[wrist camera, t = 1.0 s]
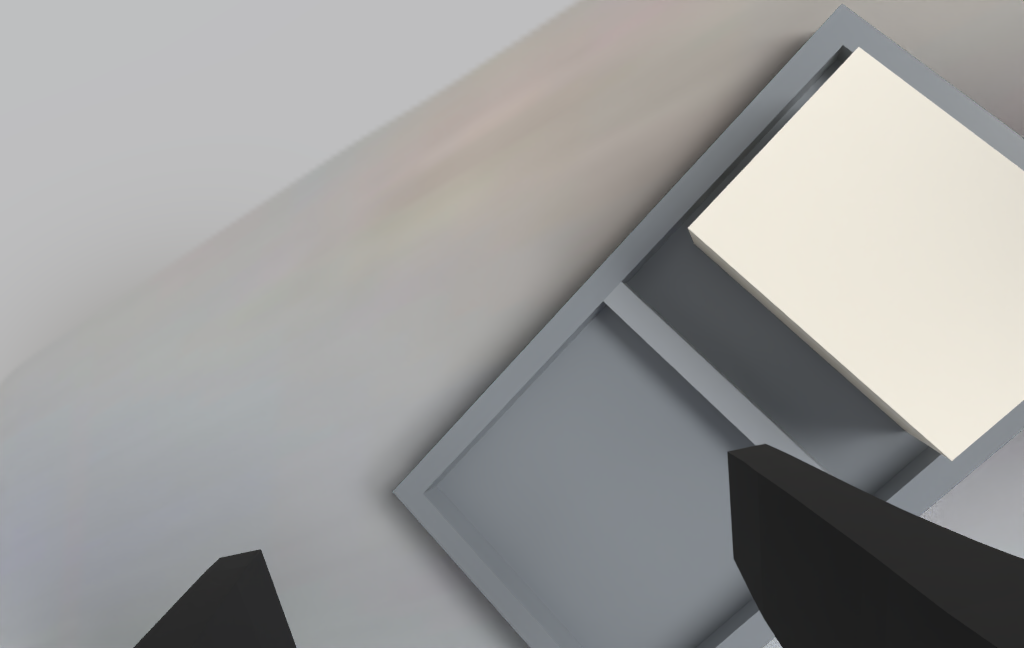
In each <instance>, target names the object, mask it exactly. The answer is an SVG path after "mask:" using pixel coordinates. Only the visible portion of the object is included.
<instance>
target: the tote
mask: <svg viewBox="0 0 1024 648" xmlns="http://www.w3.org/2000/svg"><path fill="white" fill-rule="evenodd" d="M858 47H860V48H861V49H863V50H864V51H865V52H867V53H868V54H869V55H871V56H872V57H873V58H875V59H876V60H877V61H878V62H880V63H881V64H882V65H884V66H885V67H886V68H888V69H889V70H890V71H892V72H893V73H894V74H896V75H897V76H898V77H900V78H901V79H902V80H904V81H905V82H906V83H908V84H909V85H910V86H912V87H913V88H914V89H916V90H917V91H918V92H920V93H921V94H922V95H924V96H925V97H926V98H928V99H929V100H930V101H932V102H933V103H934V104H936V105H937V106H938V107H940V108H941V109H942V110H944V111H945V112H946V113H948V114H949V115H950V116H952V117H953V118H954V119H956V120H957V121H958V122H960V123H961V124H962V125H964V126H965V127H966V128H967V129H969V130H970V131H971V132H973V133H974V134H975V135H977V136H978V137H979V138H981V139H982V140H983V141H985V142H986V143H987V144H989V145H990V146H991V147H993V148H994V149H995V150H997V151H998V152H999V153H1001V154H1002V155H1003V156H1005V157H1006V158H1007V159H1009V160H1010V161H1011V162H1013V163H1014V164H1015V165H1017V166H1018V167H1019V168H1021V169H1022V170H1023V171H1024V138H1023V137H1021V136H1020V135H1019V134H1017V133H1016V132H1015V131H1013V130H1012V129H1011V128H1009V127H1008V126H1007V125H1005V124H1004V123H1003V122H1001V121H1000V120H999V119H997V118H996V117H994V116H993V115H992V114H990V113H989V112H988V111H986V110H985V109H984V108H982V107H981V106H980V105H978V104H977V103H976V102H974V101H973V100H972V99H970V98H969V97H967V96H966V95H965V94H963V93H962V92H961V91H959V90H958V89H957V88H955V87H954V86H953V85H951V84H950V83H949V82H947V81H946V80H945V79H943V78H942V77H940V76H939V75H938V74H936V73H935V72H934V71H932V70H931V69H930V68H928V67H927V66H926V65H924V64H923V63H922V62H920V61H919V60H918V59H916V58H915V57H913V56H912V55H911V54H909V53H908V52H907V51H905V50H904V49H903V48H901V47H900V46H899V45H897V44H896V43H895V42H893V41H892V40H891V39H889V38H888V37H886V36H885V35H884V34H882V33H881V32H880V31H878V30H877V29H876V28H874V27H873V26H872V25H870V24H869V23H868V22H866V21H865V20H864V19H862V18H861V17H859V16H858V15H857V14H855V13H854V12H853V11H851V10H850V9H849V8H847V7H846V6H845V5H843V4H841V5H840V6H839V7H838V8H837V9H836V11H835V12H834V13H833V14H832V15H831V16H830V17H829V18H828V19H827V20H826V21H825V22H824V24H823V25H822V26H821V27H820V28H819V29H818V30H817V31H816V32H815V33H814V34H813V36H812V37H811V38H810V39H809V40H808V41H807V42H806V43H805V44H804V45H803V46H802V47H801V49H800V50H799V51H798V52H797V53H796V54H795V55H794V56H793V57H792V58H791V59H790V60H789V62H788V63H787V64H786V65H785V66H784V67H783V68H782V69H781V70H780V71H779V72H778V74H777V75H776V76H775V77H774V78H773V79H772V80H771V81H770V82H769V83H768V84H767V85H766V87H765V88H764V89H763V90H762V91H761V92H760V93H759V94H758V95H757V96H756V97H755V99H754V100H753V101H752V102H751V103H750V104H749V105H748V106H747V107H746V108H745V109H744V110H743V112H742V113H741V114H740V115H739V116H738V117H737V118H736V119H735V120H734V121H733V122H732V123H731V125H730V126H729V127H728V128H727V129H726V130H725V131H724V132H723V133H722V134H721V135H720V137H719V138H718V139H717V140H716V141H715V142H714V143H713V144H712V145H711V146H710V147H709V148H708V150H707V151H706V152H705V153H704V154H703V155H702V156H701V157H700V158H699V159H698V160H697V162H696V163H695V164H694V165H693V166H692V167H691V168H690V169H689V170H688V171H687V172H686V173H685V175H684V176H683V177H682V178H681V179H680V180H679V181H678V182H677V183H676V184H675V185H674V186H673V188H672V189H671V190H670V191H669V192H668V193H667V194H666V195H665V196H664V197H663V198H662V200H661V201H660V202H659V203H658V204H657V205H656V206H655V207H654V208H653V209H652V210H651V211H650V213H649V214H648V215H647V216H646V217H645V218H644V219H643V220H642V221H641V222H640V223H639V225H638V226H637V227H636V228H635V229H634V230H633V231H632V232H631V233H630V234H629V235H628V236H627V238H626V239H625V240H624V241H623V242H622V243H621V244H620V245H619V246H618V247H617V248H616V250H615V251H614V252H613V253H612V254H611V255H610V256H609V257H608V258H607V259H606V260H605V261H604V263H603V264H602V265H601V266H600V267H599V268H598V269H597V270H596V271H595V272H594V273H593V274H592V276H591V277H590V278H589V279H588V280H587V281H586V282H585V283H584V284H583V285H582V286H581V288H580V289H579V290H578V291H577V292H576V293H575V294H574V295H573V296H572V297H571V298H570V299H569V301H568V302H567V303H566V304H565V305H564V306H563V307H562V308H561V309H560V310H559V311H558V313H557V314H556V315H555V316H554V317H553V318H552V319H551V320H550V321H549V322H548V323H547V324H546V326H545V327H544V328H543V329H542V330H541V331H540V332H539V333H538V334H537V335H536V336H535V337H534V339H533V340H532V341H531V342H530V343H529V344H528V345H527V346H526V347H525V348H524V349H523V351H522V352H521V353H520V354H519V355H518V356H517V357H516V358H515V359H514V360H513V361H512V362H511V364H510V365H509V366H508V367H507V368H506V369H505V370H504V371H503V372H502V373H501V374H500V376H499V377H498V378H497V379H496V380H495V381H494V382H493V383H492V384H491V385H490V386H489V387H488V389H487V390H486V391H485V392H484V393H483V394H482V395H481V396H480V397H479V398H478V399H477V400H476V402H475V403H474V404H473V405H472V406H471V407H470V408H469V409H468V410H467V411H466V412H465V414H464V415H463V416H462V417H461V418H460V419H459V420H458V421H457V422H456V423H455V424H454V425H453V427H452V428H451V429H450V430H449V431H448V432H447V433H446V434H445V435H444V436H443V437H442V439H441V440H440V441H439V442H438V443H437V444H436V445H435V446H434V447H433V448H432V449H431V450H430V452H429V453H428V454H427V455H426V456H425V457H424V458H423V459H422V460H421V461H420V462H419V463H418V465H417V466H416V467H415V468H414V469H413V470H412V471H411V472H410V473H409V474H408V475H407V477H406V478H405V479H404V480H403V481H402V482H401V483H400V484H399V485H398V486H397V487H396V488H395V490H394V491H393V493H394V494H395V495H396V496H397V498H398V499H399V500H400V501H401V502H402V503H403V504H404V505H405V507H406V508H407V509H408V510H409V511H410V512H411V513H412V514H413V516H414V517H415V518H416V519H417V520H418V521H419V522H420V524H421V525H422V526H423V527H424V528H425V529H426V530H427V531H428V533H429V534H430V535H431V536H432V537H433V538H434V539H435V541H436V542H437V543H438V544H439V545H440V546H441V547H442V548H443V550H444V551H445V552H446V553H447V554H448V555H449V556H450V557H451V559H452V560H453V561H454V562H455V563H456V564H457V565H458V567H459V568H460V569H461V570H462V571H463V572H464V573H465V574H466V576H467V577H468V578H469V579H470V580H471V581H472V582H473V584H474V585H475V586H476V587H477V588H478V589H479V590H480V591H481V593H482V594H483V595H484V596H485V597H486V598H487V599H488V601H489V602H490V603H491V604H492V605H493V606H494V607H495V608H496V610H497V611H498V612H499V613H500V614H501V615H502V616H503V617H504V619H505V620H506V621H507V622H508V623H509V624H510V625H511V627H512V628H513V629H514V630H515V631H516V632H517V633H518V634H519V636H520V637H521V638H522V639H523V640H524V641H525V642H526V644H527V645H528V646H529V647H530V648H763V647H764V646H765V645H766V644H767V643H769V642H770V641H771V640H772V639H773V638H774V637H775V635H774V634H773V632H772V631H771V629H770V627H769V626H768V624H767V623H766V621H765V620H764V618H763V616H762V614H761V612H760V611H759V609H758V607H757V605H756V603H755V601H754V599H753V597H752V595H751V593H750V591H749V589H748V587H747V585H746V583H745V581H744V579H743V577H742V575H741V573H740V571H739V569H738V567H737V565H736V563H735V561H734V559H733V542H732V525H731V507H730V490H729V472H728V455H727V452H728V451H732V450H737V449H742V448H747V447H751V446H756V445H761V444H767V445H770V446H772V447H774V448H777V449H779V450H781V451H783V452H785V453H787V454H790V455H792V456H794V457H796V458H798V459H800V460H802V461H804V462H806V463H808V464H810V465H812V466H814V467H816V468H818V469H820V470H822V471H824V472H826V473H828V474H830V475H832V476H834V477H836V478H838V479H840V480H842V481H844V482H846V483H848V484H850V485H852V486H854V487H856V488H858V489H860V490H863V491H865V492H867V493H869V494H871V495H873V496H875V497H877V498H879V499H881V500H883V501H886V502H888V503H890V504H892V505H894V506H896V507H898V508H901V509H903V510H905V511H907V512H910V513H912V514H914V515H916V516H918V517H919V516H920V515H921V514H922V513H924V512H925V511H926V510H927V509H928V508H930V507H931V506H932V505H933V504H934V503H936V502H937V501H938V500H939V499H940V498H942V497H943V496H944V495H945V494H946V493H947V492H949V491H950V490H951V489H952V488H953V487H955V486H956V485H957V484H958V483H959V482H961V481H962V480H963V479H964V478H965V477H967V476H968V475H969V474H970V473H971V472H973V471H974V470H975V469H976V468H977V467H979V466H980V465H981V464H982V463H983V462H984V461H986V460H987V459H988V458H989V457H990V456H992V455H993V454H994V453H995V452H996V451H998V450H999V449H1000V448H1001V447H1002V446H1004V445H1005V444H1006V443H1007V442H1008V441H1010V440H1011V439H1012V438H1013V437H1014V436H1016V435H1017V434H1018V433H1019V432H1020V431H1021V430H1023V429H1024V400H1023V401H1022V402H1021V403H1020V404H1018V405H1017V406H1016V407H1015V408H1014V409H1013V410H1011V411H1010V412H1009V413H1008V414H1007V415H1005V416H1004V417H1003V418H1002V419H1001V420H1000V421H998V422H997V423H996V424H995V425H994V426H993V427H991V428H990V429H989V430H988V431H987V432H985V433H984V434H983V435H982V436H981V437H980V438H978V439H977V440H976V441H975V442H974V443H973V444H971V445H970V446H969V447H968V448H967V449H965V450H964V451H963V452H962V453H961V454H960V455H958V456H957V457H956V458H955V459H954V460H953V461H951V460H950V459H948V458H946V457H945V456H943V455H942V454H940V453H939V452H937V451H936V450H934V449H932V448H931V447H929V446H928V445H926V444H925V443H923V442H922V441H920V440H918V439H917V438H915V437H914V436H912V435H911V434H909V433H908V432H906V431H905V430H904V429H903V428H901V427H900V426H899V425H898V424H897V423H896V422H895V421H894V420H892V419H891V418H890V417H889V416H888V415H887V414H886V413H884V412H883V411H882V410H881V409H880V408H879V407H878V406H877V405H875V404H874V403H873V402H872V401H871V400H870V399H869V398H868V397H866V396H865V395H864V394H863V393H862V392H861V391H860V390H859V389H857V388H856V387H855V386H854V385H853V384H852V383H851V382H850V381H848V380H847V379H846V378H845V377H844V376H843V375H842V374H841V373H839V372H838V371H837V370H836V369H835V368H834V367H833V366H831V365H830V364H829V363H828V362H827V361H826V360H825V359H824V358H822V357H821V356H820V355H819V354H818V353H817V352H816V351H815V350H813V349H812V348H811V347H810V346H809V345H808V344H807V343H806V342H804V341H803V340H802V339H801V338H800V337H799V336H798V335H797V334H795V333H794V332H793V331H792V330H791V329H790V328H789V327H787V326H786V325H785V324H784V323H783V322H782V321H781V320H780V319H778V318H777V317H776V316H775V315H774V314H773V313H772V312H771V311H769V310H768V309H767V308H766V307H765V306H764V305H763V304H762V303H760V302H759V301H758V300H757V299H756V298H755V297H754V296H753V295H751V294H750V293H749V292H748V291H747V290H746V289H745V288H743V287H742V286H741V285H740V284H739V283H738V282H737V281H736V280H734V279H733V278H732V277H731V276H730V275H729V274H728V273H727V272H725V271H724V270H723V269H722V268H721V267H720V266H719V265H718V264H716V263H715V262H714V261H713V260H712V259H711V258H710V257H709V256H707V255H706V254H705V253H704V252H703V251H702V250H701V249H699V248H698V247H697V246H696V245H695V244H694V242H693V240H692V237H691V235H690V232H689V230H688V227H689V226H690V225H691V224H692V223H693V222H694V221H695V220H696V219H697V218H698V217H699V216H700V215H701V213H702V212H703V211H704V210H705V209H706V208H707V207H708V206H709V205H710V204H711V203H712V202H713V201H714V200H715V199H716V198H717V197H718V195H719V194H720V193H721V192H722V191H723V190H724V189H725V188H726V187H727V186H728V185H729V184H730V183H731V182H732V181H733V180H734V179H735V177H736V176H737V175H738V174H739V173H740V172H741V171H742V170H743V169H744V168H745V167H746V166H747V165H748V164H749V163H750V162H751V160H752V159H753V158H754V157H755V156H756V155H757V154H758V153H759V152H760V151H761V150H762V149H763V148H764V147H765V146H766V145H767V144H768V142H769V141H770V140H771V139H772V138H773V137H774V136H775V135H776V134H777V133H778V132H779V131H780V130H781V129H782V128H783V127H784V125H785V124H786V123H787V122H788V121H789V120H790V119H791V118H792V117H793V116H794V115H795V114H796V113H797V112H798V111H799V110H800V109H801V107H802V106H803V105H804V104H805V103H806V102H807V101H808V100H809V99H810V98H811V97H812V96H813V95H814V94H815V93H816V92H817V91H818V89H819V88H820V87H821V86H822V85H823V84H824V83H825V82H826V81H827V80H828V79H829V78H830V77H831V76H832V75H833V74H834V72H835V71H836V70H837V69H838V68H839V67H840V66H841V65H842V64H843V63H844V62H845V61H846V60H847V59H848V58H849V57H850V56H851V54H852V53H853V52H854V51H855V50H856V49H857V48H858Z"/></svg>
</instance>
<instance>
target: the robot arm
mask: <svg viewBox="0 0 1024 648" xmlns="http://www.w3.org/2000/svg"><path fill="white" fill-rule="evenodd" d="M727 455H728V472H729V490H730V507H731V525H732V542H733V559H734V561H735V563H736V565H737V567H738V569H739V571H740V573H741V575H742V577H743V579H744V581H745V583H746V585H747V587H748V589H749V591H750V593H751V595H752V597H753V599H754V601H755V603H756V605H757V607H758V609H759V611H760V612H761V614H762V616H763V618H764V620H765V621H766V623H767V624H768V626H769V627H770V629H771V631H772V632H773V634H774V635H775V637H776V638H777V640H778V641H779V643H780V644H781V646H782V647H783V648H1024V559H1022V558H1019V557H1016V556H1014V555H1011V554H1008V553H1006V552H1003V551H1000V550H998V549H995V548H993V547H990V546H987V545H985V544H982V543H980V542H977V541H975V540H972V539H970V538H968V537H965V536H963V535H961V534H958V533H956V532H953V531H951V530H949V529H946V528H944V527H942V526H939V525H937V524H934V523H932V522H930V521H927V520H925V519H923V518H921V517H918V516H916V515H914V514H912V513H910V512H907V511H905V510H903V509H901V508H898V507H896V506H894V505H892V504H890V503H888V502H886V501H883V500H881V499H879V498H877V497H875V496H873V495H871V494H869V493H867V492H865V491H863V490H860V489H858V488H856V487H854V486H852V485H850V484H848V483H846V482H844V481H842V480H840V479H838V478H836V477H834V476H832V475H830V474H828V473H826V472H824V471H822V470H820V469H818V468H816V467H814V466H812V465H810V464H808V463H806V462H804V461H802V460H800V459H798V458H796V457H794V456H792V455H790V454H787V453H785V452H783V451H781V450H779V449H777V448H774V447H772V446H770V445H767V444H761V445H756V446H751V447H747V448H742V449H737V450H732V451H728V452H727ZM134 648H296V645H295V643H294V640H293V637H292V634H291V631H290V629H289V626H288V623H287V620H286V618H285V615H284V612H283V609H282V607H281V604H280V601H279V598H278V595H277V593H276V590H275V587H274V584H273V582H272V579H271V576H270V573H269V571H268V568H267V565H266V562H265V559H264V557H263V554H262V551H261V549H260V550H256V551H251V552H246V553H241V554H237V555H232V556H227V557H222V558H219V559H218V560H217V561H216V562H215V563H214V564H213V565H212V566H211V567H210V568H209V569H208V570H207V571H206V572H205V573H204V574H203V575H202V576H201V577H200V578H199V579H198V580H197V581H196V582H195V583H194V584H193V585H192V586H191V587H190V588H189V589H188V591H187V592H186V593H185V594H184V595H183V596H182V597H181V598H180V599H179V600H178V601H177V602H176V603H175V604H174V605H173V607H172V608H171V609H170V610H169V611H168V612H167V613H166V614H165V615H164V616H163V617H162V618H161V619H160V620H159V621H158V623H157V624H156V625H155V626H154V627H153V628H152V629H151V630H150V631H149V632H148V633H147V634H146V635H145V636H144V637H143V638H142V639H141V640H140V641H139V643H138V644H137V645H136V646H135V647H134Z"/></svg>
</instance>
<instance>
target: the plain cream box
mask: <svg viewBox="0 0 1024 648" xmlns="http://www.w3.org/2000/svg"><path fill="white" fill-rule="evenodd" d="M688 230H689V232H690V235H691V237H692V240H693V242H694V244H695V245H696V246H697V247H698V248H699V249H701V250H702V251H703V252H704V253H705V254H706V255H707V256H709V257H710V258H711V259H712V260H713V261H714V262H715V263H716V264H718V265H719V266H720V267H721V268H722V269H723V270H724V271H725V272H727V273H728V274H729V275H730V276H731V277H732V278H733V279H734V280H736V281H737V282H738V283H739V284H740V285H741V286H742V287H743V288H745V289H746V290H747V291H748V292H749V293H750V294H751V295H753V296H754V297H755V298H756V299H757V300H758V301H759V302H760V303H762V304H763V305H764V306H765V307H766V308H767V309H768V310H769V311H771V312H772V313H773V314H774V315H775V316H776V317H777V318H778V319H780V320H781V321H782V322H783V323H784V324H785V325H786V326H787V327H789V328H790V329H791V330H792V331H793V332H794V333H795V334H797V335H798V336H799V337H800V338H801V339H802V340H803V341H804V342H806V343H807V344H808V345H809V346H810V347H811V348H812V349H813V350H815V351H816V352H817V353H818V354H819V355H820V356H821V357H822V358H824V359H825V360H826V361H827V362H828V363H829V364H830V365H831V366H833V367H834V368H835V369H836V370H837V371H838V372H839V373H841V374H842V375H843V376H844V377H845V378H846V379H847V380H848V381H850V382H851V383H852V384H853V385H854V386H855V387H856V388H857V389H859V390H860V391H861V392H862V393H863V394H864V395H865V396H866V397H868V398H869V399H870V400H871V401H872V402H873V403H874V404H875V405H877V406H878V407H879V408H880V409H881V410H882V411H883V412H884V413H886V414H887V415H888V416H889V417H890V418H891V419H892V420H894V421H895V422H896V423H897V424H898V425H899V426H900V427H901V428H903V429H904V430H905V431H906V432H908V433H909V434H911V435H912V436H914V437H915V438H917V439H918V440H920V441H922V442H923V443H925V444H926V445H928V446H929V447H931V448H932V449H934V450H936V451H937V452H939V453H940V454H942V455H943V456H945V457H946V458H948V459H950V460H951V461H953V460H954V459H955V458H956V457H957V456H958V455H960V454H961V453H962V452H963V451H964V450H965V449H967V448H968V447H969V446H970V445H971V444H973V443H974V442H975V441H976V440H977V439H978V438H980V437H981V436H982V435H983V434H984V433H985V432H987V431H988V430H989V429H990V428H991V427H993V426H994V425H995V424H996V423H997V422H998V421H1000V420H1001V419H1002V418H1003V417H1004V416H1005V415H1007V414H1008V413H1009V412H1010V411H1011V410H1013V409H1014V408H1015V407H1016V406H1017V405H1018V404H1020V403H1021V402H1022V401H1023V400H1024V171H1023V170H1022V169H1021V168H1019V167H1018V166H1017V165H1015V164H1014V163H1013V162H1011V161H1010V160H1009V159H1007V158H1006V157H1005V156H1003V155H1002V154H1001V153H999V152H998V151H997V150H995V149H994V148H993V147H991V146H990V145H989V144H987V143H986V142H985V141H983V140H982V139H981V138H979V137H978V136H977V135H975V134H974V133H973V132H971V131H970V130H969V129H967V128H966V127H965V126H964V125H962V124H961V123H960V122H958V121H957V120H956V119H954V118H953V117H952V116H950V115H949V114H948V113H946V112H945V111H944V110H942V109H941V108H940V107H938V106H937V105H936V104H934V103H933V102H932V101H930V100H929V99H928V98H926V97H925V96H924V95H922V94H921V93H920V92H918V91H917V90H916V89H914V88H913V87H912V86H910V85H909V84H908V83H906V82H905V81H904V80H902V79H901V78H900V77H898V76H897V75H896V74H894V73H893V72H892V71H890V70H889V69H888V68H886V67H885V66H884V65H882V64H881V63H880V62H878V61H877V60H876V59H875V58H873V57H872V56H871V55H869V54H868V53H867V52H865V51H864V50H863V49H861V48H860V47H858V48H857V49H856V50H855V51H854V52H853V53H852V54H851V56H850V57H849V58H848V59H847V60H846V61H845V62H844V63H843V64H842V65H841V66H840V67H839V68H838V69H837V70H836V71H835V72H834V74H833V75H832V76H831V77H830V78H829V79H828V80H827V81H826V82H825V83H824V84H823V85H822V86H821V87H820V88H819V89H818V91H817V92H816V93H815V94H814V95H813V96H812V97H811V98H810V99H809V100H808V101H807V102H806V103H805V104H804V105H803V106H802V107H801V109H800V110H799V111H798V112H797V113H796V114H795V115H794V116H793V117H792V118H791V119H790V120H789V121H788V122H787V123H786V124H785V125H784V127H783V128H782V129H781V130H780V131H779V132H778V133H777V134H776V135H775V136H774V137H773V138H772V139H771V140H770V141H769V142H768V144H767V145H766V146H765V147H764V148H763V149H762V150H761V151H760V152H759V153H758V154H757V155H756V156H755V157H754V158H753V159H752V160H751V162H750V163H749V164H748V165H747V166H746V167H745V168H744V169H743V170H742V171H741V172H740V173H739V174H738V175H737V176H736V177H735V179H734V180H733V181H732V182H731V183H730V184H729V185H728V186H727V187H726V188H725V189H724V190H723V191H722V192H721V193H720V194H719V195H718V197H717V198H716V199H715V200H714V201H713V202H712V203H711V204H710V205H709V206H708V207H707V208H706V209H705V210H704V211H703V212H702V213H701V215H700V216H699V217H698V218H697V219H696V220H695V221H694V222H693V223H692V224H691V225H690V226H689V227H688Z"/></svg>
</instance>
